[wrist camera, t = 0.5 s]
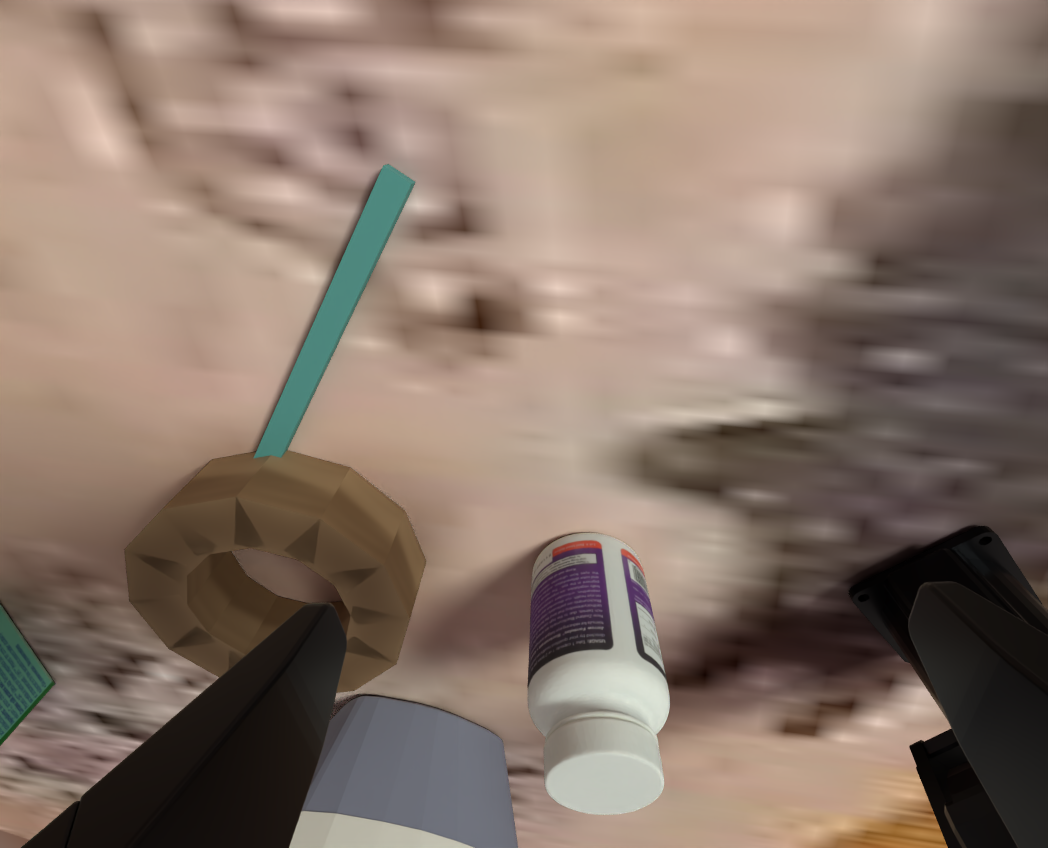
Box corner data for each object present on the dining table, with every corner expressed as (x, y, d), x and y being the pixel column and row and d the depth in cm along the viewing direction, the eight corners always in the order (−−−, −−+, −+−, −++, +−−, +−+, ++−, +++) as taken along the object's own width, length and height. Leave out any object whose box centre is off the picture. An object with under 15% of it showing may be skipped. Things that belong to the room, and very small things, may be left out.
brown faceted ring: (472, 564, 26) (461, 622, 23) (326, 664, 31) (301, 724, 27) (267, 401, 22) (221, 446, 19) (132, 543, 26) (78, 597, 23)
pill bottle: (518, 594, 27) (503, 809, 19) (551, 516, 24) (551, 725, 16) (618, 619, 28) (647, 838, 19) (661, 545, 25) (716, 761, 17)
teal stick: (277, 470, 24) (271, 478, 23) (256, 459, 24) (249, 467, 23) (415, 181, 18) (411, 183, 17) (388, 164, 17) (383, 165, 17)
